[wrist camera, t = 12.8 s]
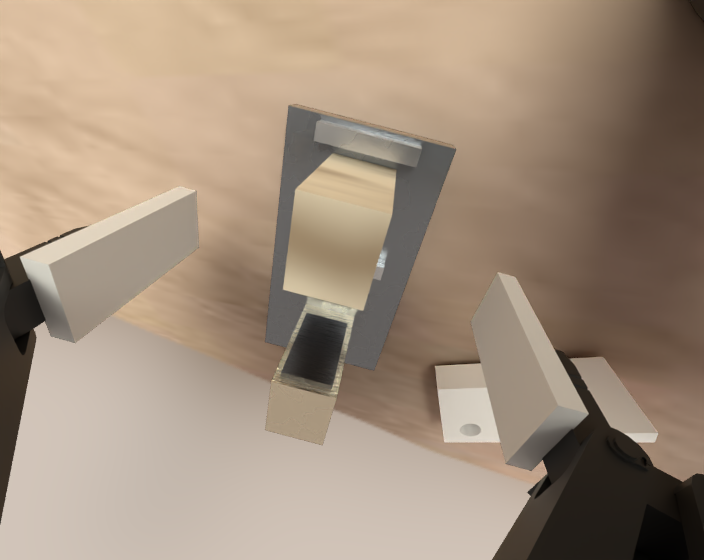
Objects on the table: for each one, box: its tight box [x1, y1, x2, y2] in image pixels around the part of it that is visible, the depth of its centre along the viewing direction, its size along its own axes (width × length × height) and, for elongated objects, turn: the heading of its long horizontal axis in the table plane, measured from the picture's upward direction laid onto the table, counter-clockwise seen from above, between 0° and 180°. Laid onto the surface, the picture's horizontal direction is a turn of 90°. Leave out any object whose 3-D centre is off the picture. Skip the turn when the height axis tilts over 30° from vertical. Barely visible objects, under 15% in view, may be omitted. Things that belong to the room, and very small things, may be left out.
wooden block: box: [283, 153, 397, 311], centre depth 18 cm, size 5×4×8 cm
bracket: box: [435, 357, 658, 442], centre depth 26 cm, size 13×7×8 cm, turn 103°
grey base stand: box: [265, 104, 456, 445], centre depth 21 cm, size 19×10×10 cm, turn 168°
